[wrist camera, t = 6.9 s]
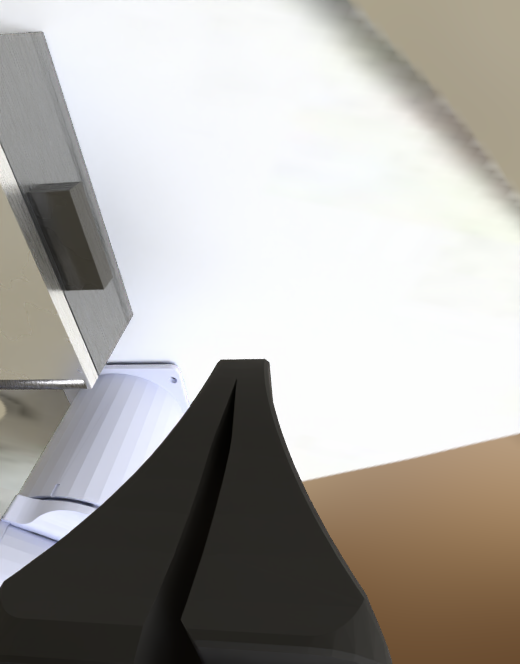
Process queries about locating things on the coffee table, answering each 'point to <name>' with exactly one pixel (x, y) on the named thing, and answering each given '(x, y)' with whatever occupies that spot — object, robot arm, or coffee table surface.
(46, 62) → the cooker pot
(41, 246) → the lid
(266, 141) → the coffee table surface
